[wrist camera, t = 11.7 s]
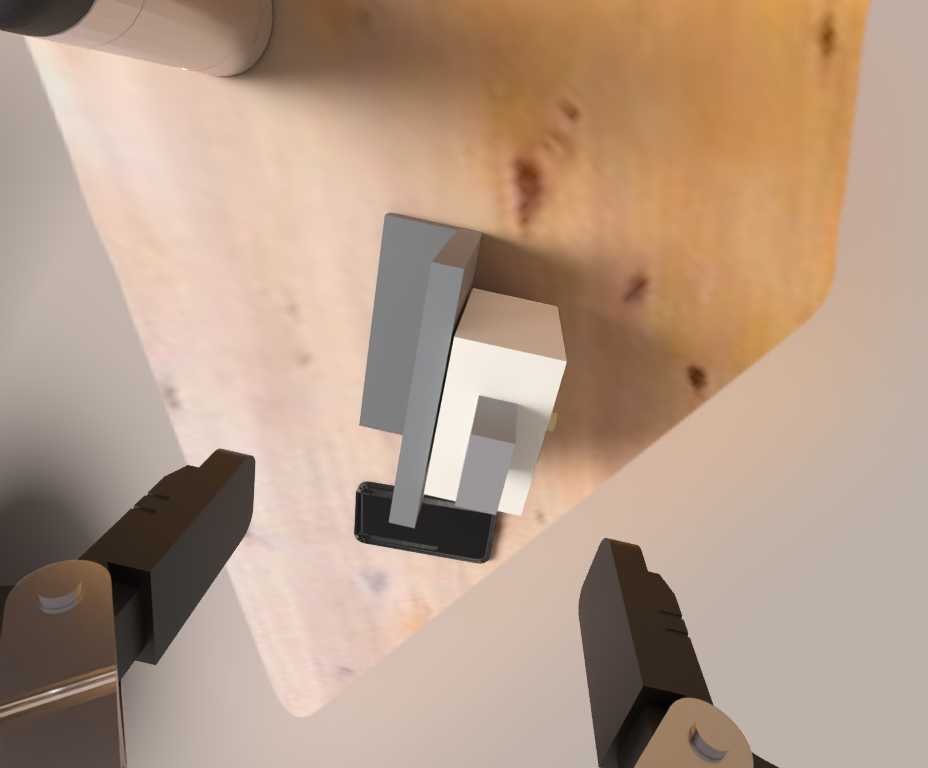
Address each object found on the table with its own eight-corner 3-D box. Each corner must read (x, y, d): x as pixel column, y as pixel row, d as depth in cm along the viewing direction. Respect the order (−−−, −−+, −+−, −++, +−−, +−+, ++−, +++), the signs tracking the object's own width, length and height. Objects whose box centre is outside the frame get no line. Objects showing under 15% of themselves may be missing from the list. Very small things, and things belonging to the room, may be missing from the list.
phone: (356, 483, 56) (498, 508, 55) (359, 477, 57) (499, 501, 56) (353, 542, 59) (487, 566, 58) (357, 535, 60) (488, 558, 59)
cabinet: (447, 415, 48) (409, 542, 33) (473, 288, 43) (442, 368, 28) (533, 434, 48) (535, 571, 33) (569, 309, 43) (592, 401, 28)
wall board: (363, 418, 53) (311, 504, 40) (389, 212, 44) (333, 240, 32) (486, 445, 53) (472, 541, 40) (535, 244, 44) (538, 285, 32)
